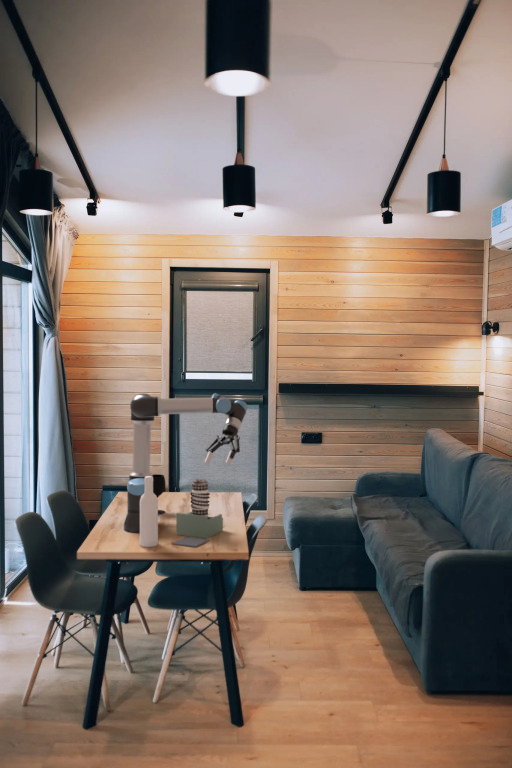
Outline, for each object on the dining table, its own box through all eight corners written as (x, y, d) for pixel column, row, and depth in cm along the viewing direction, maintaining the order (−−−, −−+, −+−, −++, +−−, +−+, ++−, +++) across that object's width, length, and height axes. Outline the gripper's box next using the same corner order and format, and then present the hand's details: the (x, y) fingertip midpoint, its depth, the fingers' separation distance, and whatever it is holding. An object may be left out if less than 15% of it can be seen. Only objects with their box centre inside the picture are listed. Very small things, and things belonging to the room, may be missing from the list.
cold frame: (176, 534, 297) (176, 513, 297) (193, 526, 311) (193, 506, 311) (206, 538, 290) (206, 516, 290) (222, 530, 305) (222, 509, 304)
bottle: (158, 542, 284) (158, 475, 283) (158, 546, 276) (158, 478, 275) (139, 542, 283) (139, 475, 282) (139, 547, 275) (139, 478, 274)
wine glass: (146, 515, 335) (146, 477, 335) (145, 511, 345) (145, 474, 345) (166, 514, 338) (166, 476, 338) (164, 510, 348) (164, 473, 348)
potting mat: (172, 544, 280) (172, 543, 280) (186, 537, 291) (186, 536, 291) (195, 547, 275) (195, 546, 275) (209, 540, 286) (209, 539, 286)
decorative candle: (192, 535, 295) (192, 482, 294) (188, 530, 304) (188, 478, 303) (211, 534, 298) (211, 481, 297) (207, 529, 306) (207, 477, 306)
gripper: (255, 431, 316) (240, 468, 305) (216, 432, 331) (201, 467, 320) (247, 422, 312) (232, 459, 301) (208, 424, 327) (193, 459, 316)
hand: (216, 463), depth 310 cm, fingers open, 13 cm apart
